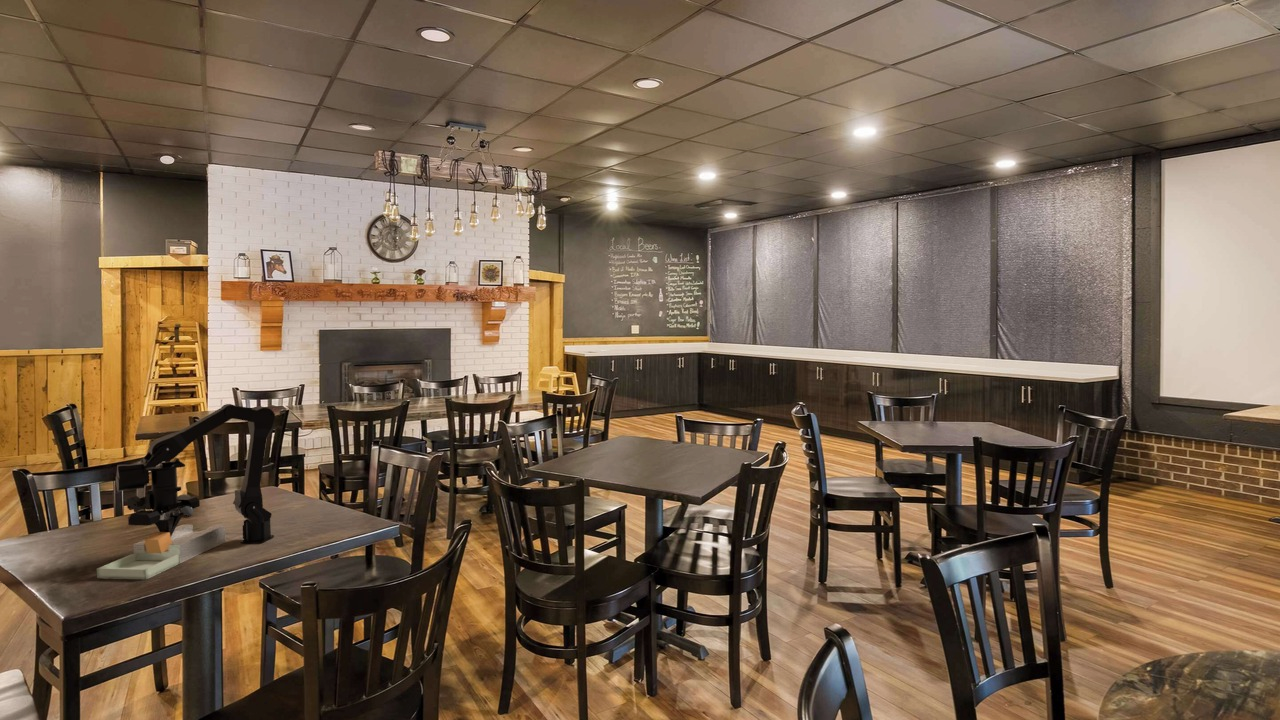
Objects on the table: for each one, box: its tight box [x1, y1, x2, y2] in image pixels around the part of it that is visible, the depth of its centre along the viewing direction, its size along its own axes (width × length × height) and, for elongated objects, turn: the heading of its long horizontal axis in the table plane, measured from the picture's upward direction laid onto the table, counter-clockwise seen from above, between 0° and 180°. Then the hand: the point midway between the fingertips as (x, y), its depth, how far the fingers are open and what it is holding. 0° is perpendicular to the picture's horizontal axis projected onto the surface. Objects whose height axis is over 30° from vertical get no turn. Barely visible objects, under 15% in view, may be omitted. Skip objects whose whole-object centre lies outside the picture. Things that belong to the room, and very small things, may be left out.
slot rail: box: [133, 524, 227, 564], centre depth 191 cm, size 13×18×5 cm
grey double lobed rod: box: [178, 494, 195, 517], centre depth 233 cm, size 20×5×5 cm, turn 46°
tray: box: [96, 553, 180, 580], centre depth 176 cm, size 13×11×2 cm
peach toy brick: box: [143, 531, 172, 553], centre depth 182 cm, size 4×4×4 cm
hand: (166, 541), depth 185 cm, fingers closed
